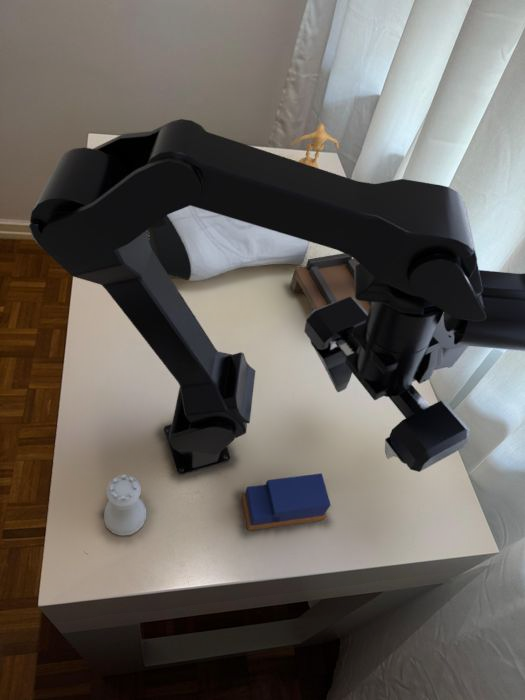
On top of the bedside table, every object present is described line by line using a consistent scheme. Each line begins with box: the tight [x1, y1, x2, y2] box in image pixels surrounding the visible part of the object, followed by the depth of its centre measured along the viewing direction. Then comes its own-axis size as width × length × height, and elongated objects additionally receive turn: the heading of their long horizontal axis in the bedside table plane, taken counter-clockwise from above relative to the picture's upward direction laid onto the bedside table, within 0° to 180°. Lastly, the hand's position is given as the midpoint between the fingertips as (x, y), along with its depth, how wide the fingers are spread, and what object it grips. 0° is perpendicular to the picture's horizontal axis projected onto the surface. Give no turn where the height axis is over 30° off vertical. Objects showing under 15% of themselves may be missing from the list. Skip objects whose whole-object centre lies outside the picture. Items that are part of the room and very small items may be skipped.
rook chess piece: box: [103, 474, 147, 536], centre depth 59 cm, size 4×4×8 cm
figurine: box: [290, 123, 340, 168], centre depth 99 cm, size 8×6×12 cm
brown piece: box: [289, 252, 371, 313], centre depth 84 cm, size 11×11×6 cm
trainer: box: [241, 473, 331, 532], centre depth 64 cm, size 9×4×4 cm, turn 102°
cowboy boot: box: [148, 206, 310, 282], centre depth 90 cm, size 10×28×25 cm
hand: (364, 421), depth 61 cm, fingers open, 9 cm apart
